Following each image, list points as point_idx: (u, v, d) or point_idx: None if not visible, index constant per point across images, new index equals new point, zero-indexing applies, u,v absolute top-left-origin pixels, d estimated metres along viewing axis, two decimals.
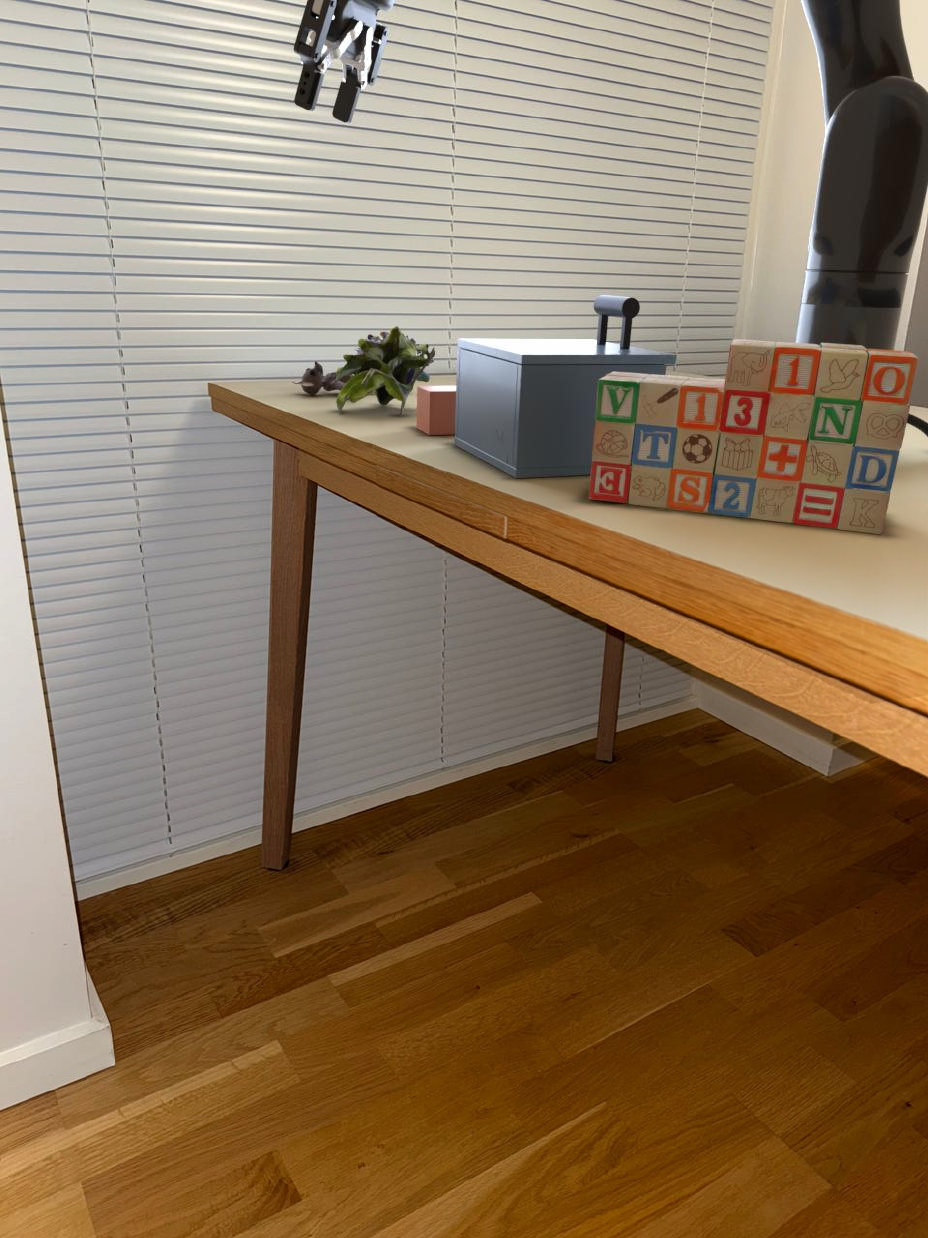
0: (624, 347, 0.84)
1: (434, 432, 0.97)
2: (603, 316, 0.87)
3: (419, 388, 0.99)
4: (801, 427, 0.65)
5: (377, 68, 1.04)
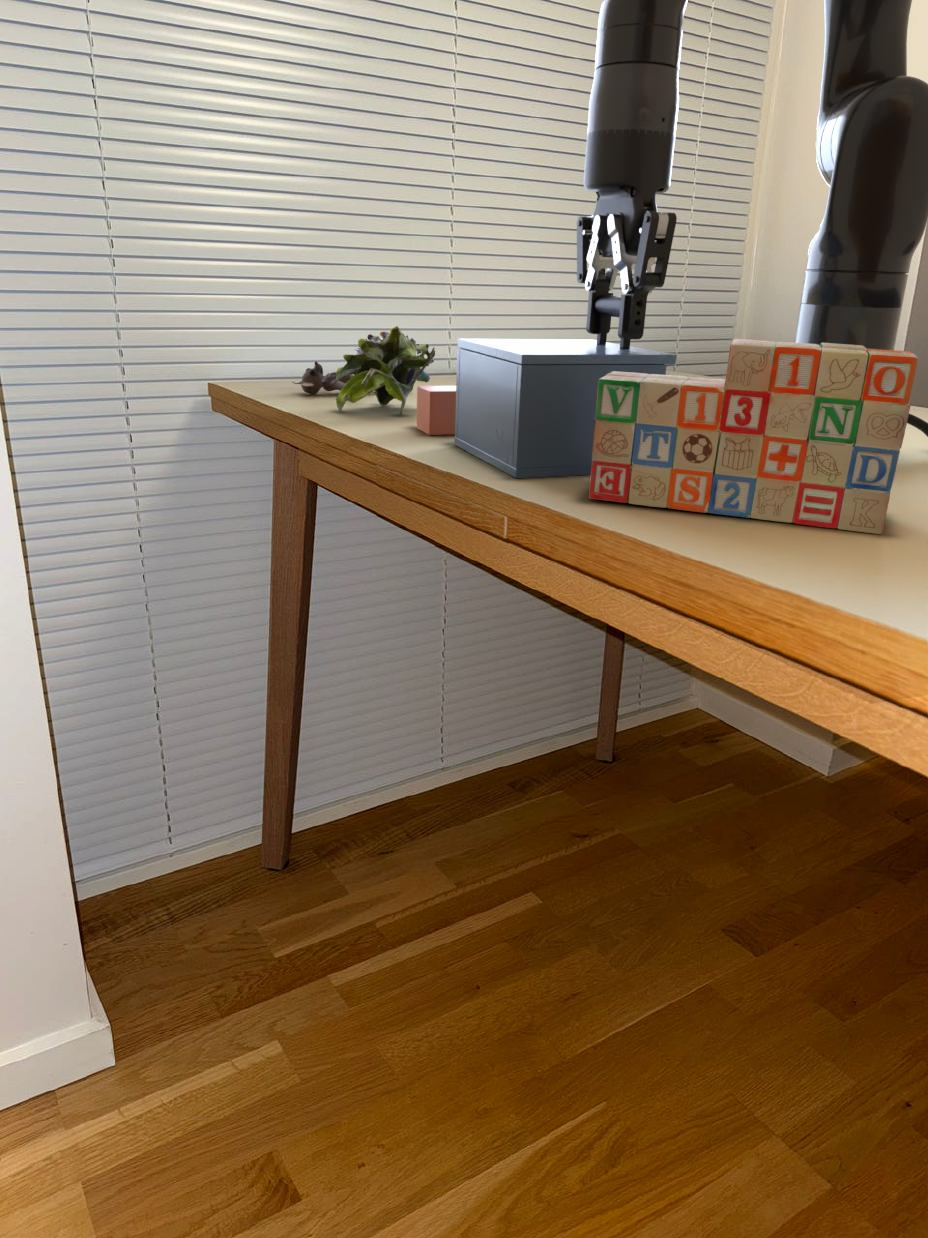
0: (624, 347, 0.84)
1: (434, 432, 0.97)
2: (603, 316, 0.87)
3: (419, 388, 0.99)
4: (802, 426, 0.65)
5: None
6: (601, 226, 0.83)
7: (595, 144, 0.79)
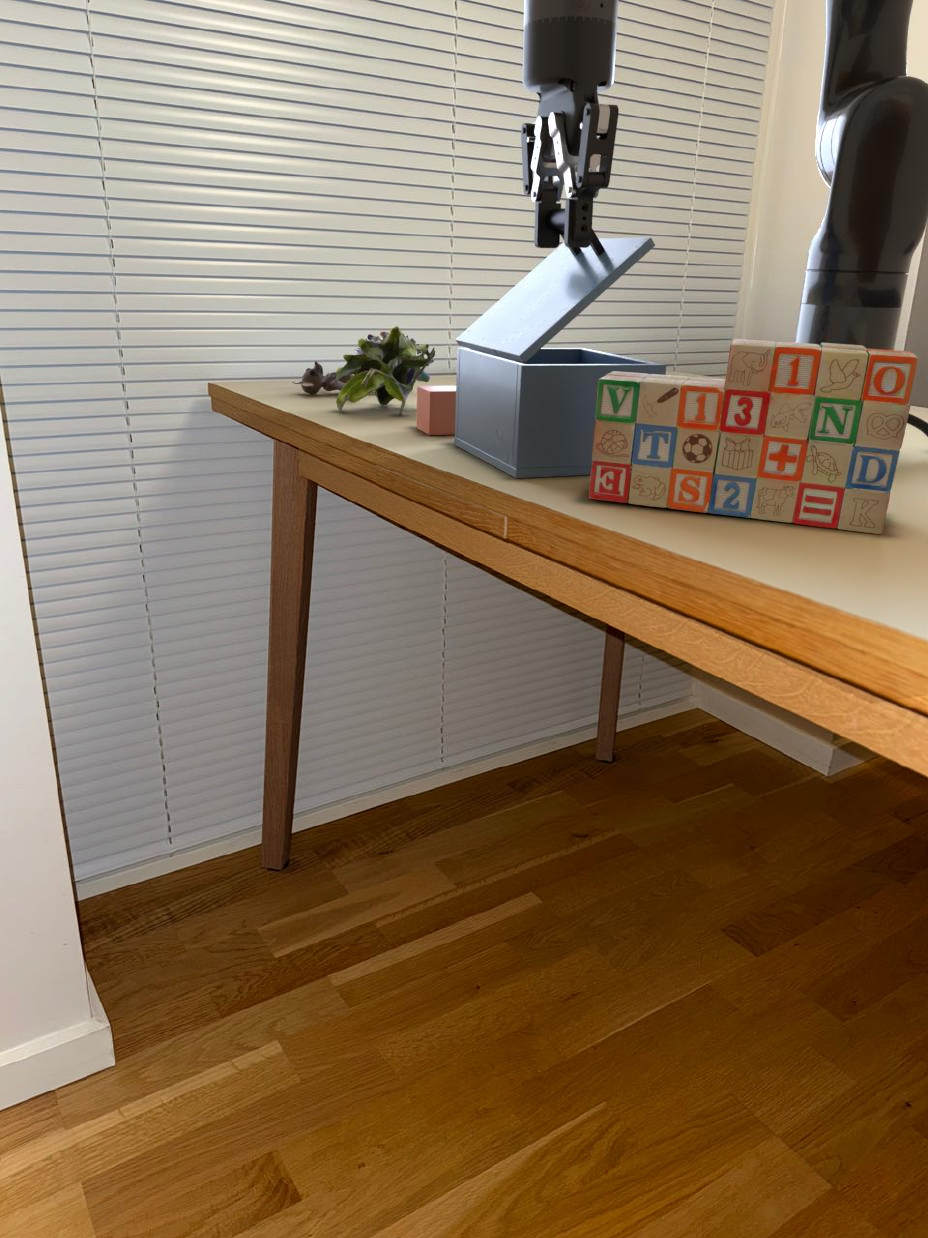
0: (600, 253, 0.80)
1: (434, 432, 0.97)
2: (563, 230, 0.83)
3: (419, 388, 0.99)
4: (802, 426, 0.65)
5: None
6: (543, 128, 0.78)
7: (531, 36, 0.74)
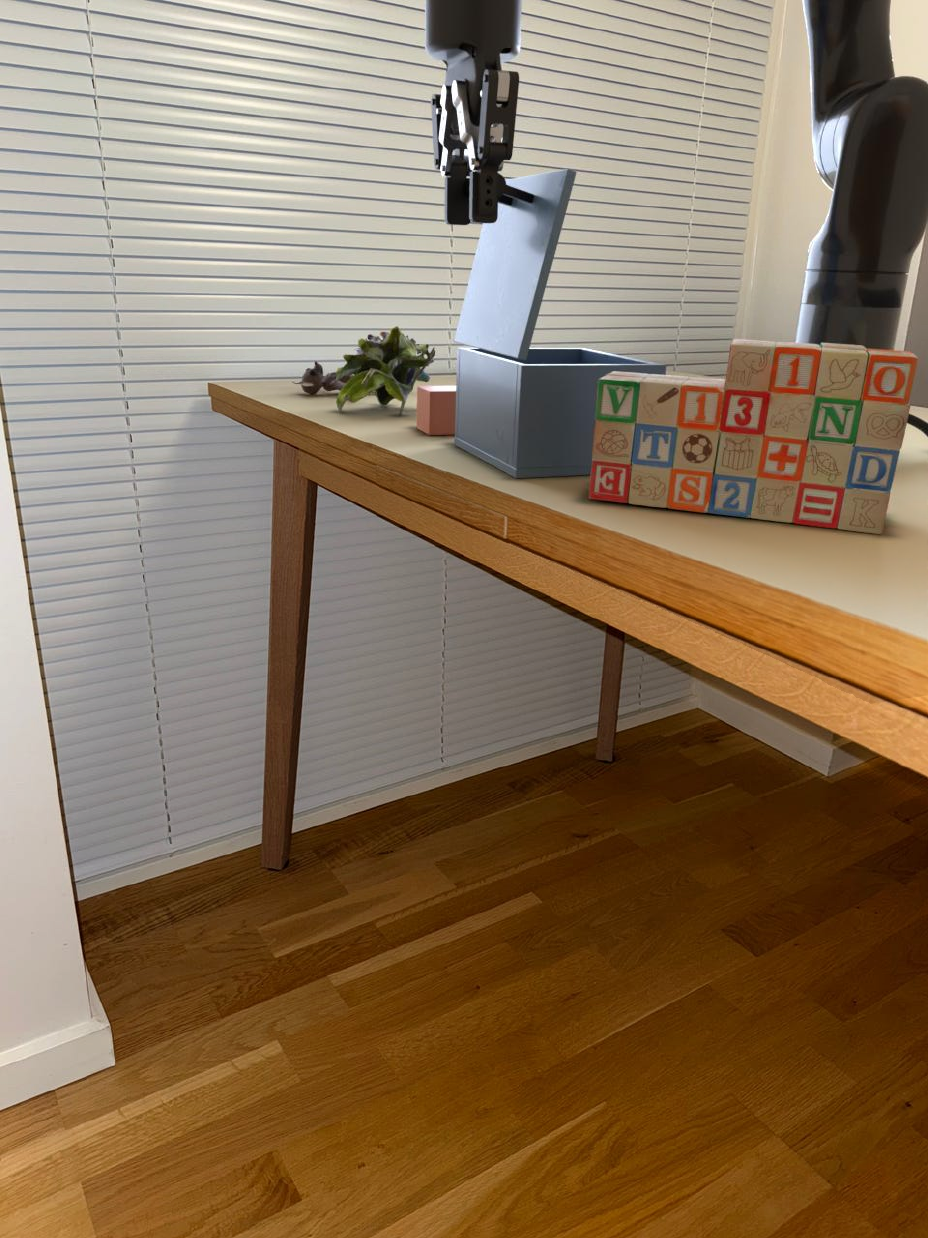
0: (531, 201, 0.76)
1: (434, 432, 0.97)
2: None
3: (419, 388, 0.99)
4: (802, 426, 0.65)
5: None
6: (448, 98, 0.75)
7: None
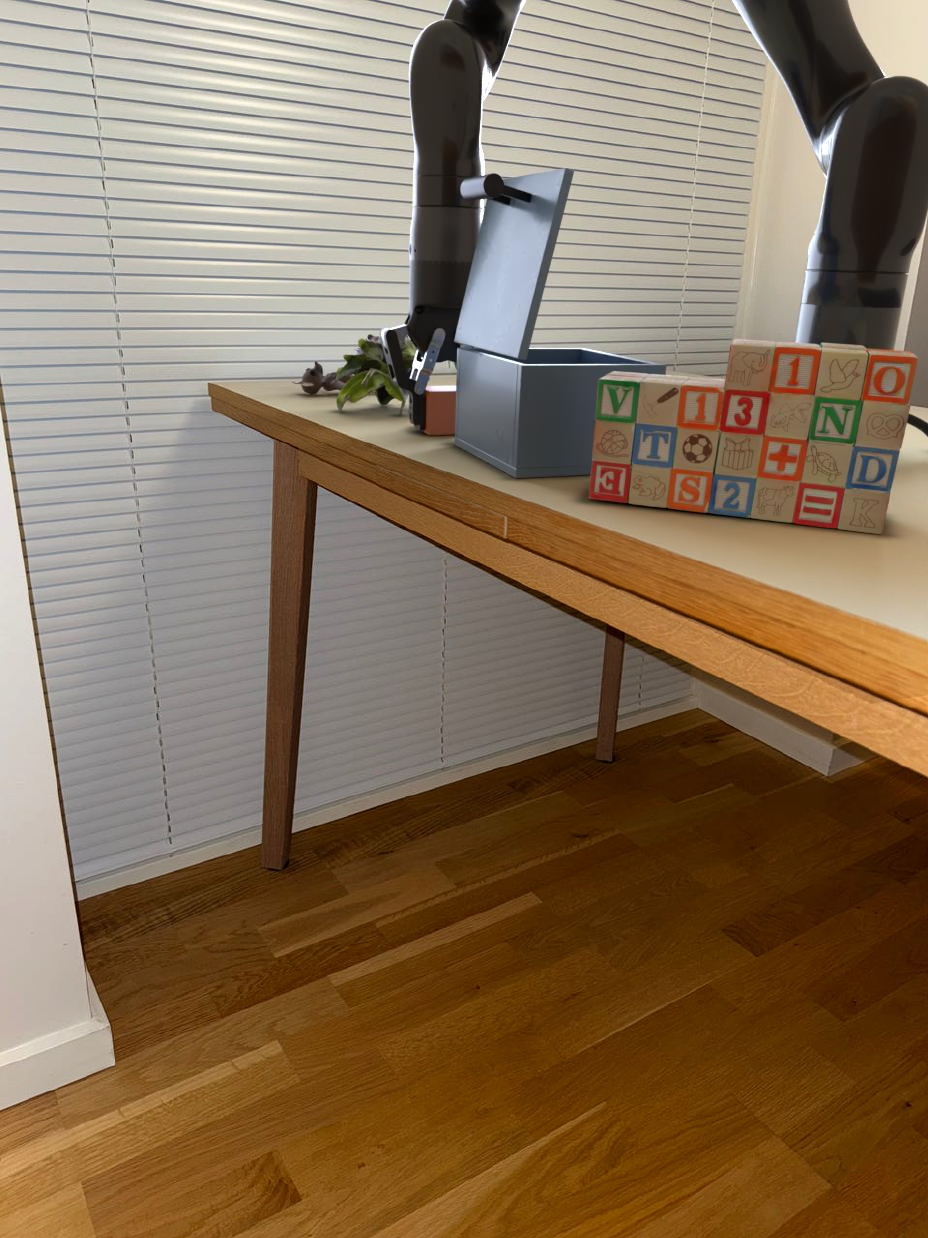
0: (529, 200, 0.76)
1: (434, 432, 0.97)
2: None
3: None
4: (802, 427, 0.65)
5: None
6: None
7: None
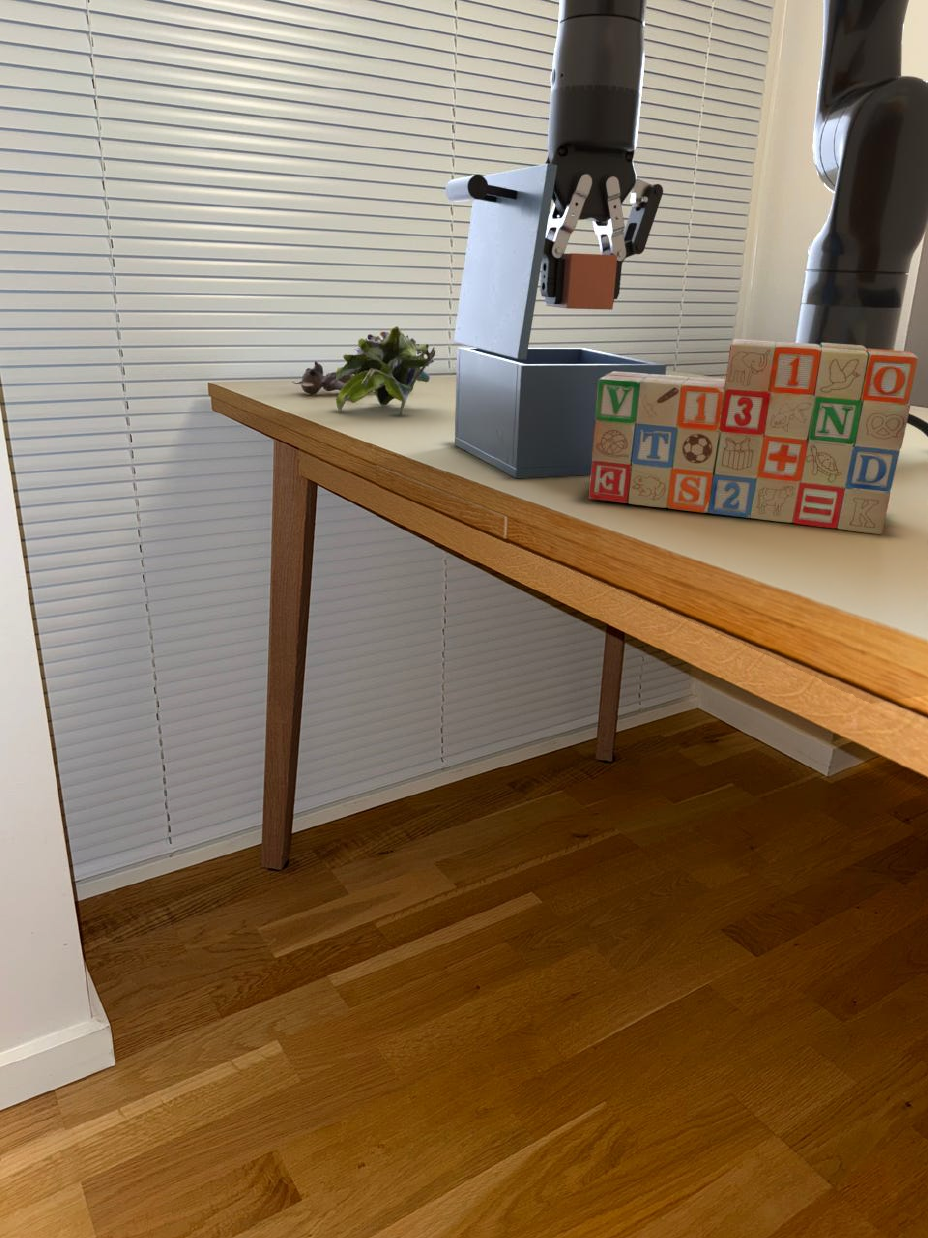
0: (515, 197, 0.76)
1: (573, 305, 0.81)
2: None
3: None
4: (802, 426, 0.65)
5: (646, 233, 0.82)
6: None
7: None
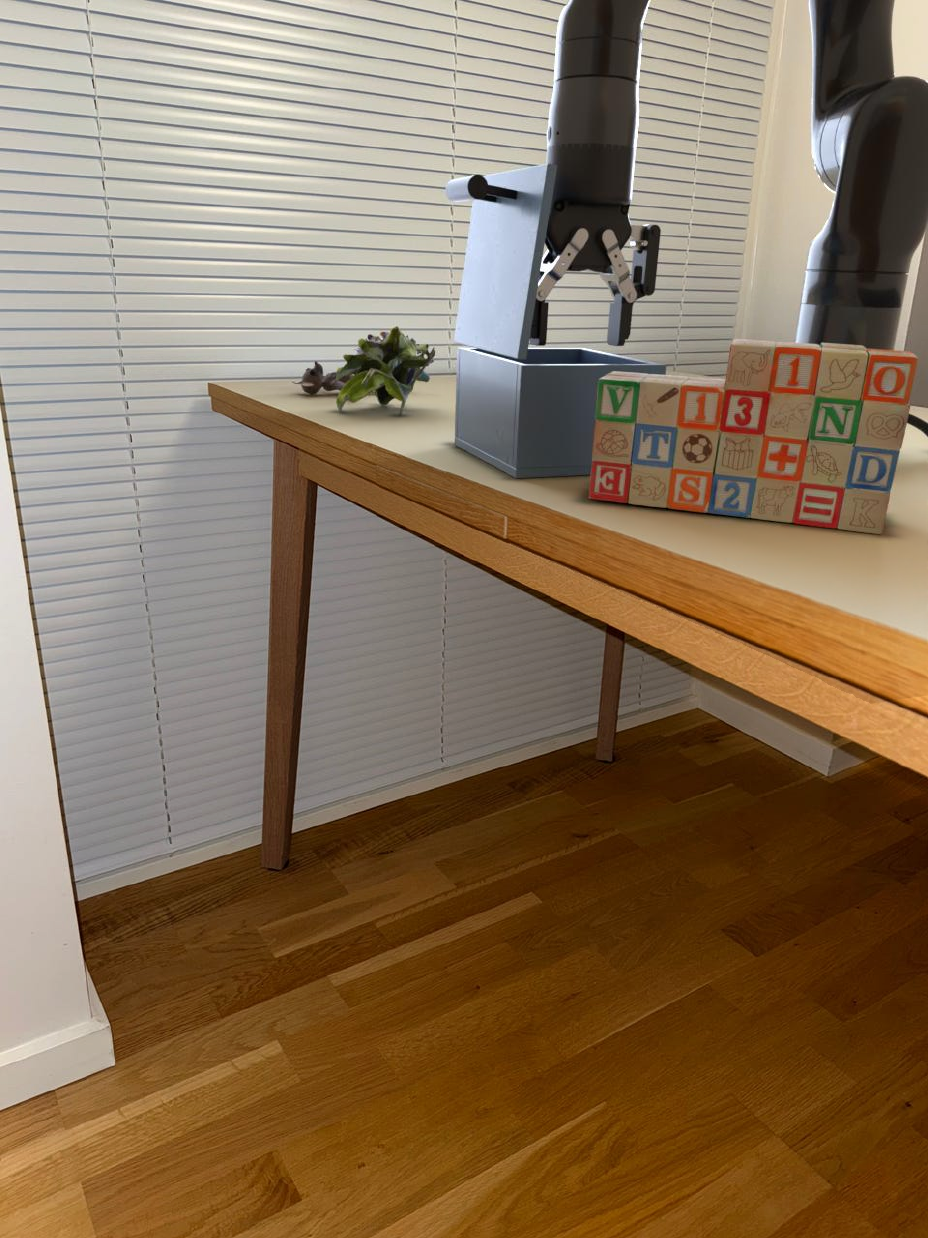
0: (515, 197, 0.76)
1: None
2: None
3: None
4: (802, 426, 0.65)
5: (653, 274, 0.84)
6: None
7: None
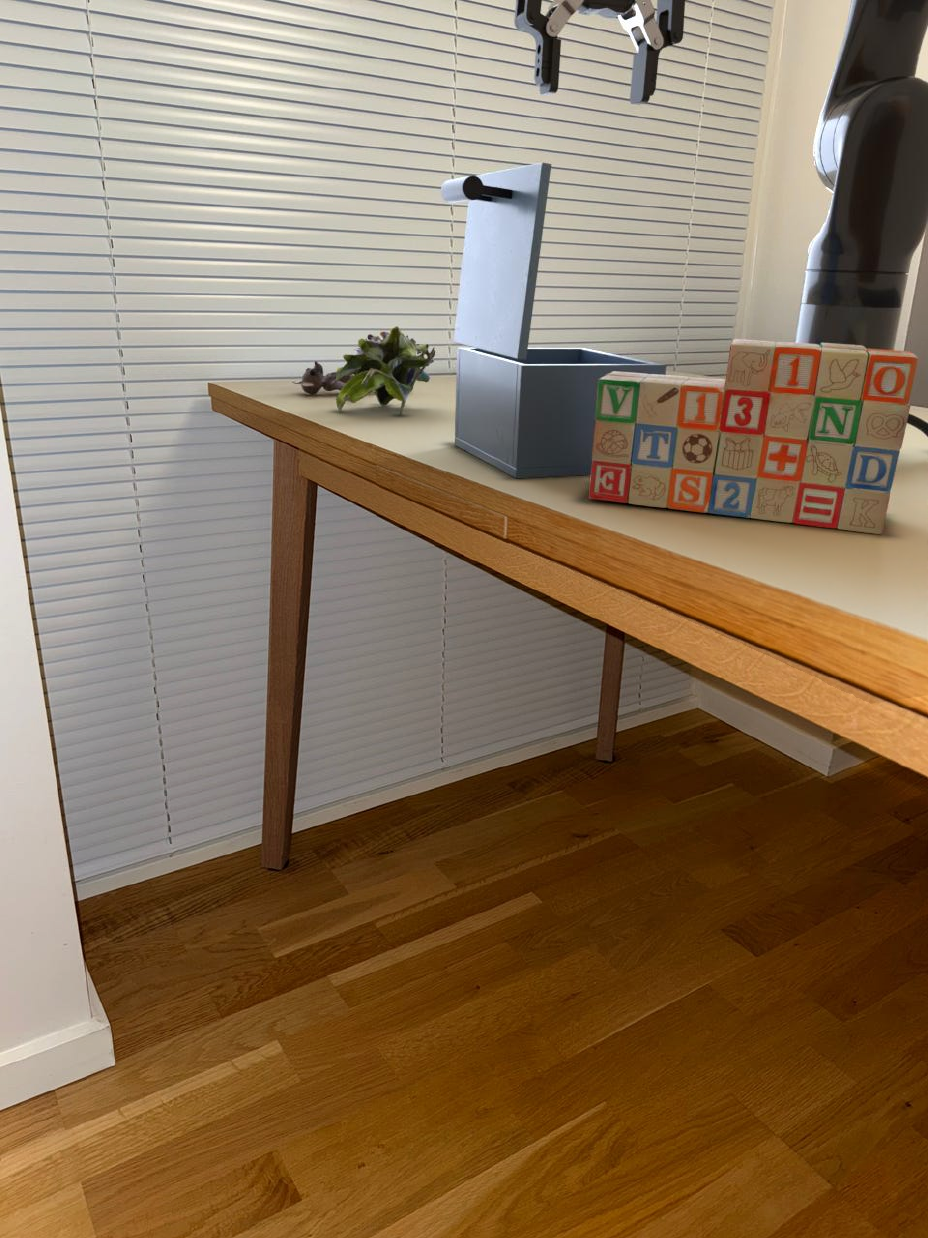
0: (510, 197, 0.76)
1: None
2: None
3: None
4: (802, 427, 0.65)
5: (681, 17, 0.77)
6: None
7: None
